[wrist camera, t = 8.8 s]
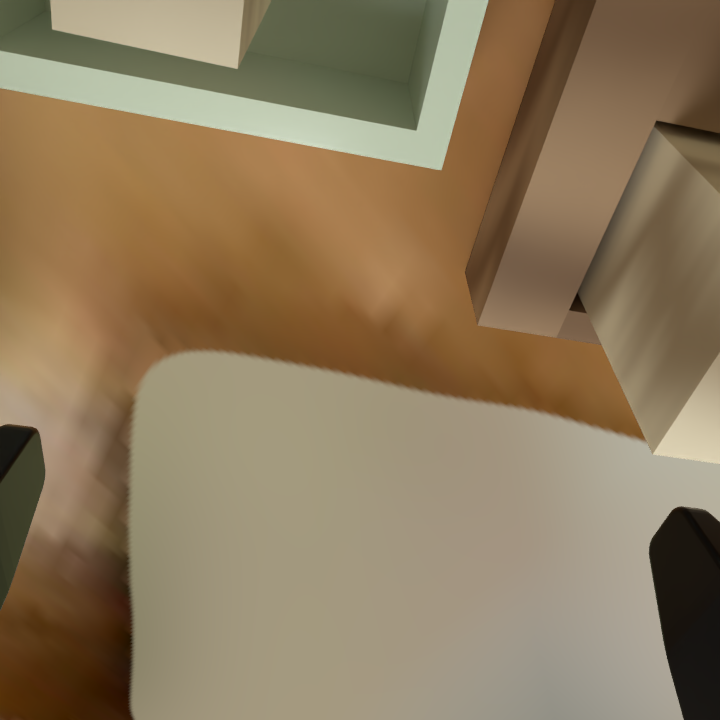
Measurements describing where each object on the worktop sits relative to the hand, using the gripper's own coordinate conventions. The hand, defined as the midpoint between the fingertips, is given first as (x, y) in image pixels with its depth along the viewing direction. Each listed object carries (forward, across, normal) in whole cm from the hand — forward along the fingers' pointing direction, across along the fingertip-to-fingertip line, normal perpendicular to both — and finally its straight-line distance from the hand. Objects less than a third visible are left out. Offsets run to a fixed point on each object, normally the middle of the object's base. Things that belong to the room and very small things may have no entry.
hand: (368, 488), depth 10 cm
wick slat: (+13, -8, 0) cm, 15 cm away
